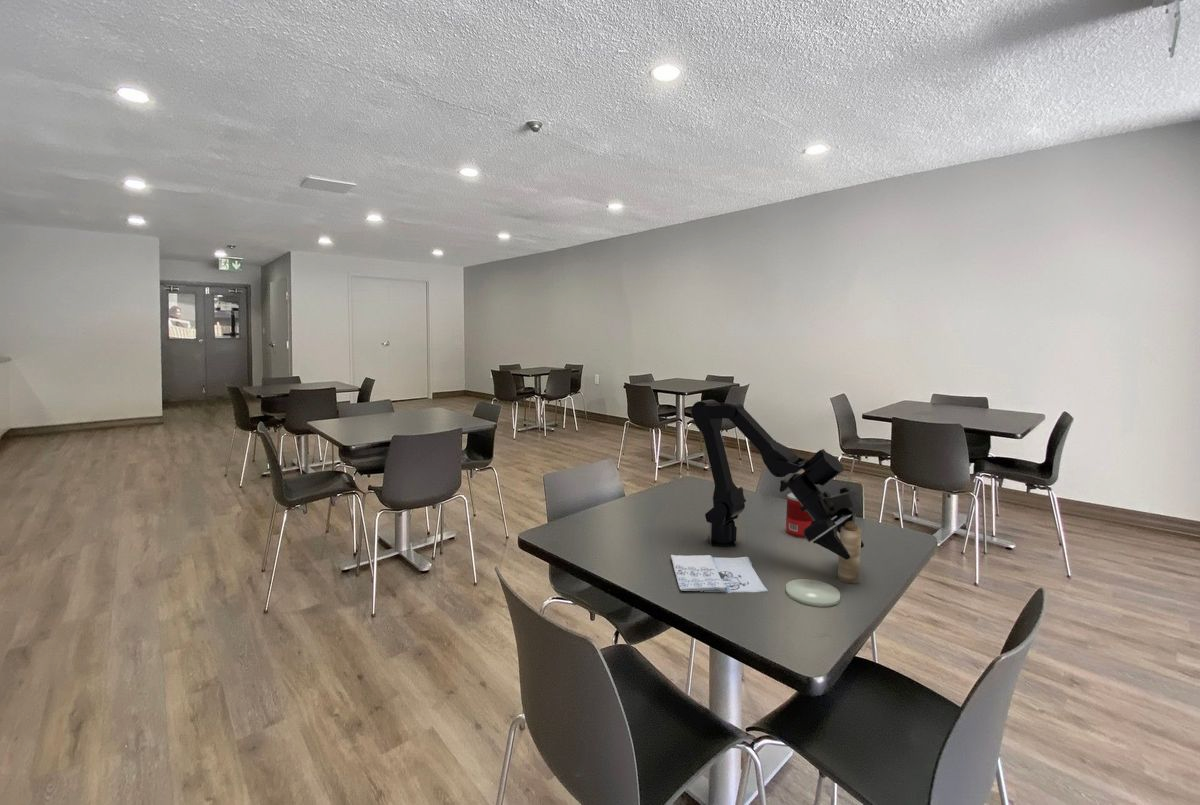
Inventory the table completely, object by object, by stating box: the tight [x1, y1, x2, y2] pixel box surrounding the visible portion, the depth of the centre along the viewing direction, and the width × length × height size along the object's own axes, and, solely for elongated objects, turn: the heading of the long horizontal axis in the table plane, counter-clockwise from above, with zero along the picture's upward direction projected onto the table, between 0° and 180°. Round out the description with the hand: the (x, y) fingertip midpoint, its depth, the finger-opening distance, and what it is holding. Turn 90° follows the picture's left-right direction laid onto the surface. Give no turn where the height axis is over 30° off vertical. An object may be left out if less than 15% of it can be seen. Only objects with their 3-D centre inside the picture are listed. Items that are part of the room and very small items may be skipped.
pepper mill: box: [837, 521, 863, 584], centre depth 124 cm, size 4×4×14 cm
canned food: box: [785, 492, 814, 539], centre depth 154 cm, size 8×8×11 cm
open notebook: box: [670, 554, 769, 594], centre depth 127 cm, size 19×20×2 cm
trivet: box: [785, 578, 841, 608], centre depth 117 cm, size 11×11×1 cm
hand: (855, 552), depth 123 cm, fingers open, 9 cm apart
